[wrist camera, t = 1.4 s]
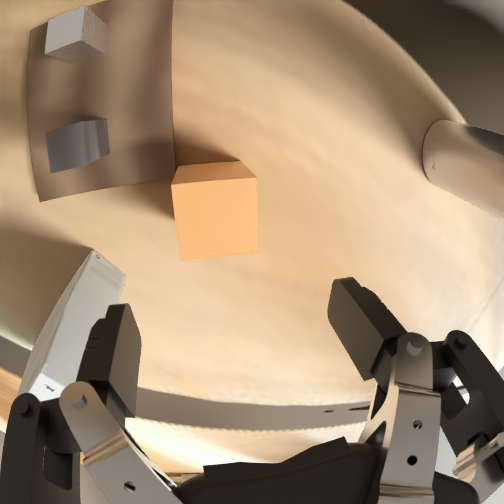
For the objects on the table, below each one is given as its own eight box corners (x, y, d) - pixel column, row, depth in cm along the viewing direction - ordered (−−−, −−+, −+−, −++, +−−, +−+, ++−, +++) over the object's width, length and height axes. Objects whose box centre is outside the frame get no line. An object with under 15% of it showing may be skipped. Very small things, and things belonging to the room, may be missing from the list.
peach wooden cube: (240, 160, 23) (257, 177, 17) (242, 218, 26) (257, 252, 20) (178, 165, 22) (170, 184, 16) (184, 223, 25) (181, 260, 19)
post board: (173, -7, 14) (167, -42, 8) (176, 174, 23) (169, 197, 17) (38, 32, 12) (1, 19, 6) (46, 197, 21) (10, 224, 15)
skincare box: (64, 360, 31) (41, 449, 17) (35, 340, 28) (4, 428, 15) (133, 277, 27) (102, 409, 13) (93, 246, 24) (30, 368, 11)
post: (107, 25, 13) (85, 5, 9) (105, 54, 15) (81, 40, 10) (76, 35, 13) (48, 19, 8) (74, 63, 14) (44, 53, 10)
